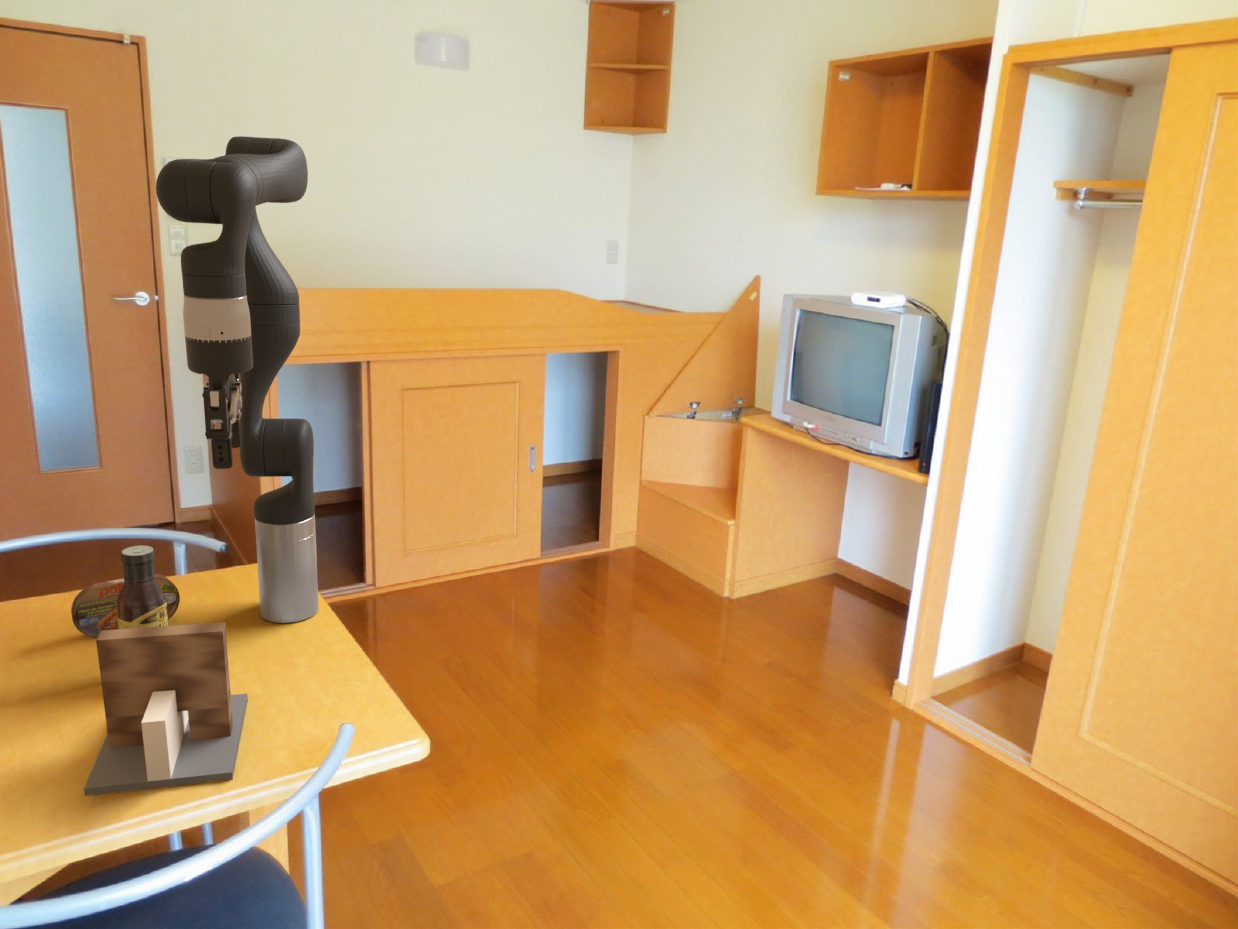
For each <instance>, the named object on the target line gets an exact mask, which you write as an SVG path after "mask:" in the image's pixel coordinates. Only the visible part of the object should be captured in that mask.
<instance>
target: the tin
mask: <svg viewBox="0 0 1238 929" xmlns="http://www.w3.org/2000/svg"><path fill="white" fill-rule="evenodd" d="M155 578H156V581H157V583H158V585H159V587H160V590H161V592H162V594H163V596H164V598H165V600H166V602H167V616H168V621H169V620H170V619H171V618H172V617H174V615H175V613H176V611H177V610H178V609H179V606H180V602H181V601H180V600H181V599H180V598H181V597H180V591H179V590H178V587H177V586H176V585H175V583H173V582H172V581H171V580H170V579H169V578H168V577H166V576H164V575H163V574H159V573H155ZM124 583H125V581H124V577H123V578H118V579H113V580H107V581H103V582H102V581H101V582H96V583H93V584H91V585H88V586H86V587H85V588H83V589H82V590H81V591H80V592H79V593H77V594H76V596H75V598H74V599H73V602H72V604H71V609H70V611H71V612H70V614H71V619H72V623H73V626H74V627H75V628H76V629H77V631H79V632H80V633H81V634H82V635H84V636H87V637H90V638H96V639H97V637H98V636H99V634H100V632H101V631H103V630H117V629H118V619H117V615H118V608H117V597H118V594H119V592H120V591H121V588H122V587H123V585H124Z"/></svg>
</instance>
